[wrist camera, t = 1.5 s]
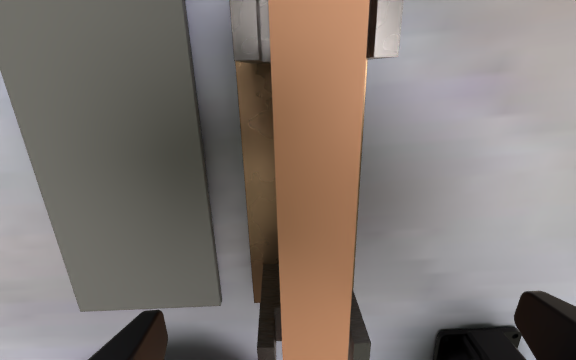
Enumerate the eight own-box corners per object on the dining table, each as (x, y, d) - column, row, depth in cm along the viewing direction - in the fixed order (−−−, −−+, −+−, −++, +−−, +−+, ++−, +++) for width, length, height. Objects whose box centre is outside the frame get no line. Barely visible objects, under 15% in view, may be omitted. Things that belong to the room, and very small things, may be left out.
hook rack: (349, 289, 23) (381, 389, 16) (255, 293, 22) (245, 395, 15) (366, -4, 16) (436, -62, 9) (233, -2, 16) (197, -58, 9)
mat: (221, 299, 23) (220, 305, 22) (85, 305, 22) (80, 311, 22) (183, -12, 16) (179, -15, 15) (-16, -8, 15) (-27, -11, 15)
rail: (334, 354, 18) (344, 407, 15) (283, 357, 18) (284, 410, 15) (350, -50, 11) (375, -90, 8) (268, -48, 11) (265, -89, 8)
